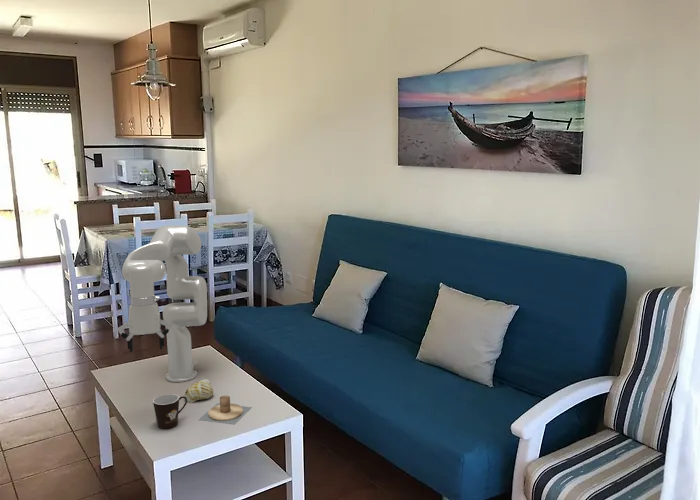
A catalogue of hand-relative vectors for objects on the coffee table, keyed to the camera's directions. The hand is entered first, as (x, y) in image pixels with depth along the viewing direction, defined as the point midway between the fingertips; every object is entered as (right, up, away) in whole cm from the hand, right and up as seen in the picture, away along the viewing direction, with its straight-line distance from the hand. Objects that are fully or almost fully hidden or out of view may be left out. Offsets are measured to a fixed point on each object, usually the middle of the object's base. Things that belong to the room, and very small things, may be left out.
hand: (146, 349), depth 201 cm
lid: (+25, -24, +9) cm, 36 cm away
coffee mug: (+8, -27, +2) cm, 28 cm away
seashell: (+12, -23, +23) cm, 35 cm away
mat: (+25, -25, +9) cm, 37 cm away
